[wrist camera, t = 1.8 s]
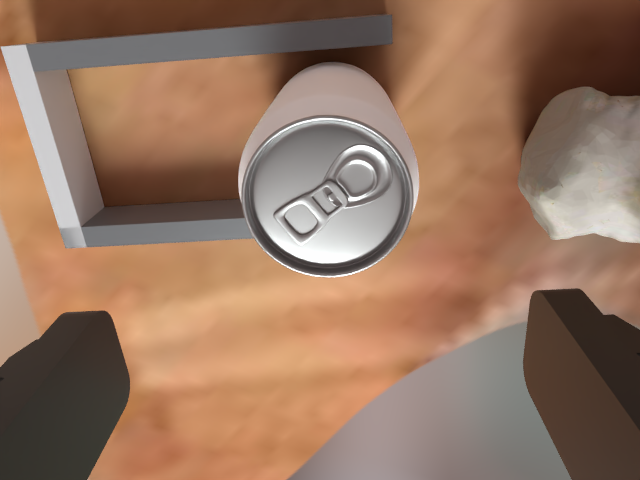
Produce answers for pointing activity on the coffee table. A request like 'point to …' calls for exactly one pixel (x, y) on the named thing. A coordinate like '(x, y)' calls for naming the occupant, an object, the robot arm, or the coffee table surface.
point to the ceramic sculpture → (585, 166)
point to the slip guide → (57, 56)
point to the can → (329, 173)
